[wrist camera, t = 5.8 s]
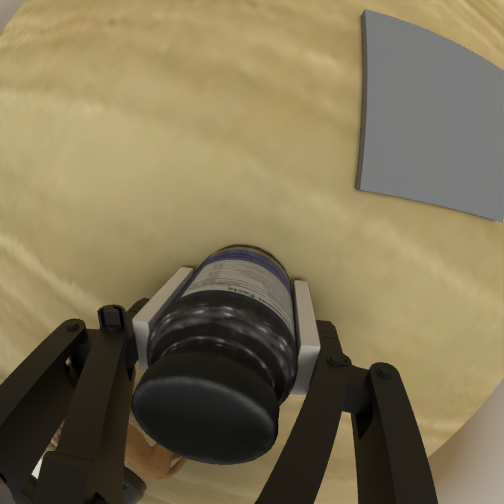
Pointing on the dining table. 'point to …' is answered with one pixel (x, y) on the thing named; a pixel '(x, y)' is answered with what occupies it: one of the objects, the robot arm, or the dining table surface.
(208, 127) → the dining table surface
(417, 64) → the pad
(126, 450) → the lion figurine
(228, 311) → the pill bottle
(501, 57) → the dining table surface
